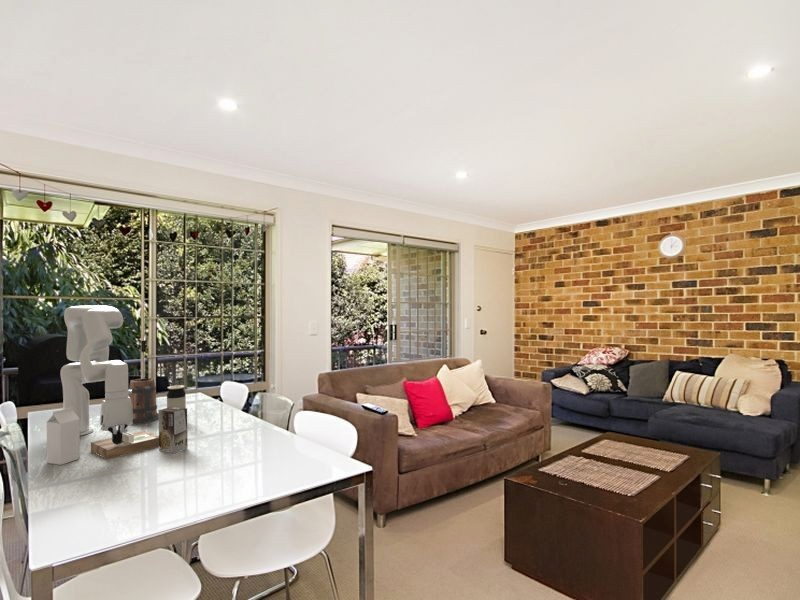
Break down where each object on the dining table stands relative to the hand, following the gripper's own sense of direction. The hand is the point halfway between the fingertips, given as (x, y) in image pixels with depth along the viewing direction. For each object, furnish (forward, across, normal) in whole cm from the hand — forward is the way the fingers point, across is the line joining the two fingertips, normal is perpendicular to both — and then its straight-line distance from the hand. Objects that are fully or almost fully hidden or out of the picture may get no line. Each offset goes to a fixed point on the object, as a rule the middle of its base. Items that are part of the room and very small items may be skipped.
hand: (117, 443), depth 175 cm
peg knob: (+1, -4, -3) cm, 5 cm away
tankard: (+5, -30, -47) cm, 56 cm away
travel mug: (+5, -36, -27) cm, 45 cm away
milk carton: (+5, +14, -10) cm, 18 cm away
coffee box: (+5, -16, +10) cm, 20 cm away
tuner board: (+5, -6, -7) cm, 10 cm away
